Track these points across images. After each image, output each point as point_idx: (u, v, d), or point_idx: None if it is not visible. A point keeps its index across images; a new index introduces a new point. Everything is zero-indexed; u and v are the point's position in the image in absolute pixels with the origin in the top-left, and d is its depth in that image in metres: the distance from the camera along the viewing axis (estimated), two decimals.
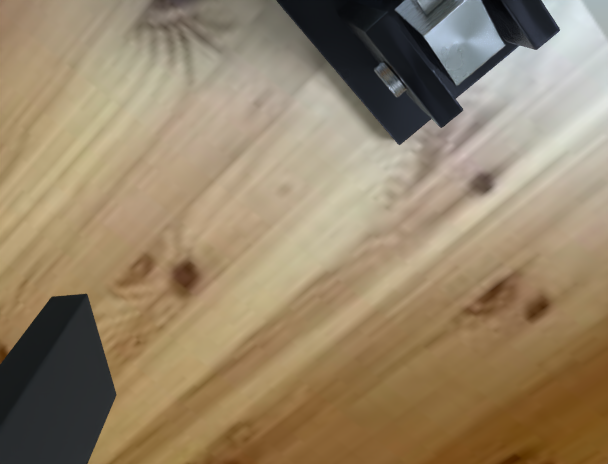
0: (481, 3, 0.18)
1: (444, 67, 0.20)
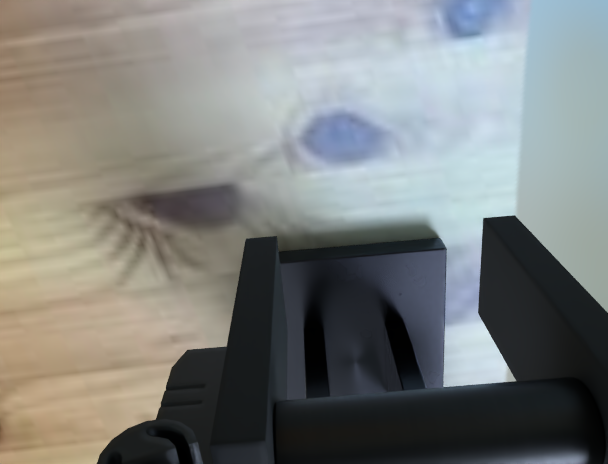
0: None
1: None
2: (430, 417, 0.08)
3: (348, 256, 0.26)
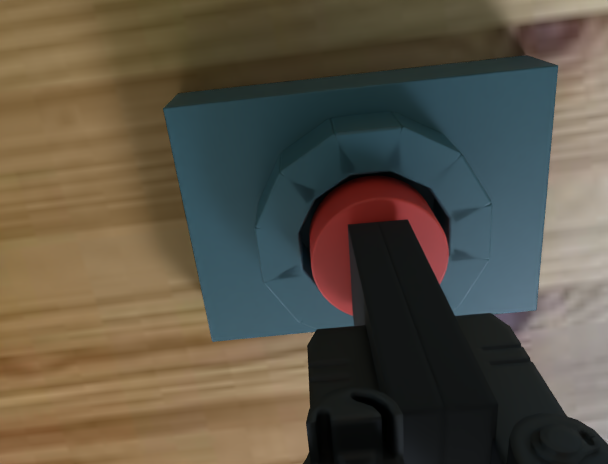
0: None
1: None
2: None
3: None
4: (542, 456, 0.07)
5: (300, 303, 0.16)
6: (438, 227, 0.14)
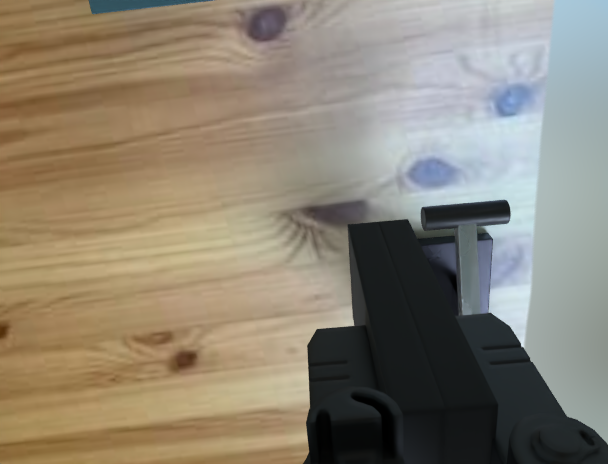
0: None
1: None
2: (463, 203, 0.33)
3: (433, 244, 0.42)
4: (543, 456, 0.07)
5: None
6: None
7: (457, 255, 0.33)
